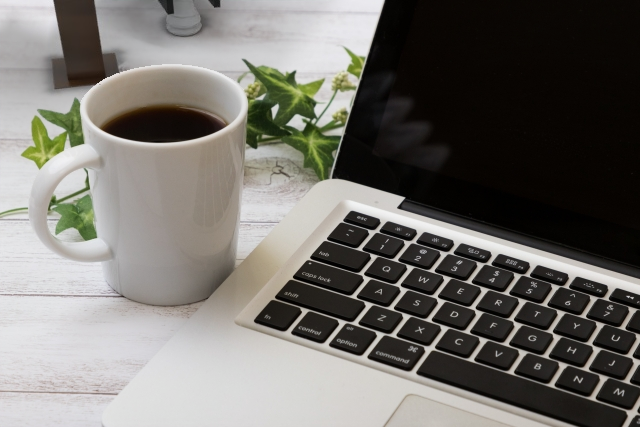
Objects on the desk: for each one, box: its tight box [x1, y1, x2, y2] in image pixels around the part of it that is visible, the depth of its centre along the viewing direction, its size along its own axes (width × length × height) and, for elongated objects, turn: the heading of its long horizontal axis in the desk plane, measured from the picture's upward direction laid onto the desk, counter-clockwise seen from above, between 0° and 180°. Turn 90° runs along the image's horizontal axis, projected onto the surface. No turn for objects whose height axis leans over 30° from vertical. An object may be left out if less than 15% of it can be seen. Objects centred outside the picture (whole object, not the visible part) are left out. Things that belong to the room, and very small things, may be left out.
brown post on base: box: [51, 0, 120, 90], centre depth 80 cm, size 14×7×18 cm, turn 17°
